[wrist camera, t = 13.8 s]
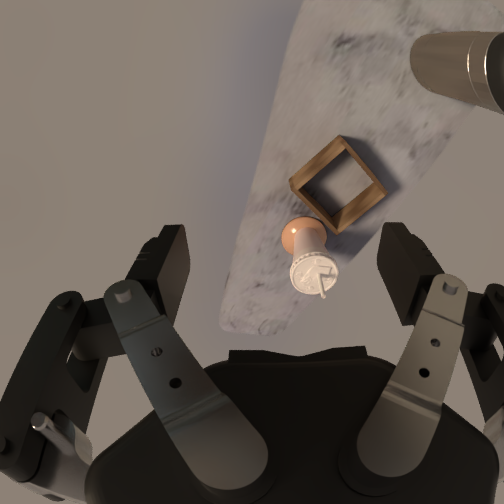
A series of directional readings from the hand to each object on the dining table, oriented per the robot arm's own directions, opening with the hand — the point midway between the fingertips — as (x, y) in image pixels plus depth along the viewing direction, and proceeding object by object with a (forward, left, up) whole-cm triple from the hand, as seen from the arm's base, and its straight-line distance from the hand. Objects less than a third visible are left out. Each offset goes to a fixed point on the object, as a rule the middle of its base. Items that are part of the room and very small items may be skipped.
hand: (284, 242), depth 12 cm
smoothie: (+9, +17, -31) cm, 37 cm away
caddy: (0, +13, -32) cm, 34 cm away
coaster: (+9, +17, -32) cm, 37 cm away
